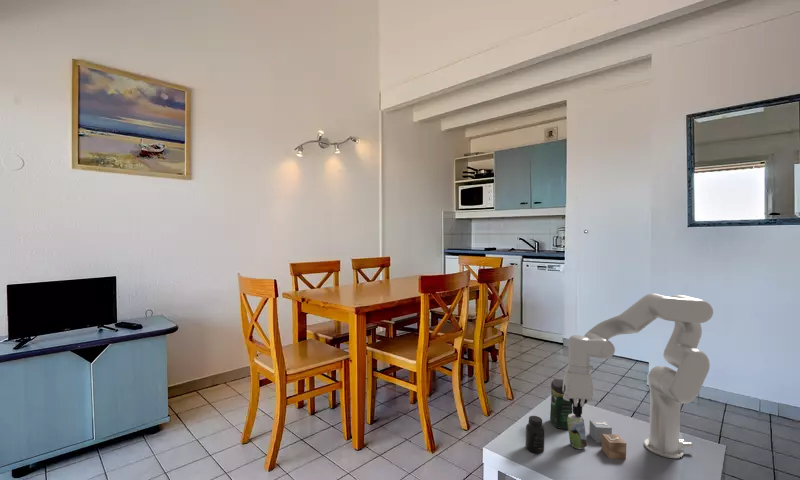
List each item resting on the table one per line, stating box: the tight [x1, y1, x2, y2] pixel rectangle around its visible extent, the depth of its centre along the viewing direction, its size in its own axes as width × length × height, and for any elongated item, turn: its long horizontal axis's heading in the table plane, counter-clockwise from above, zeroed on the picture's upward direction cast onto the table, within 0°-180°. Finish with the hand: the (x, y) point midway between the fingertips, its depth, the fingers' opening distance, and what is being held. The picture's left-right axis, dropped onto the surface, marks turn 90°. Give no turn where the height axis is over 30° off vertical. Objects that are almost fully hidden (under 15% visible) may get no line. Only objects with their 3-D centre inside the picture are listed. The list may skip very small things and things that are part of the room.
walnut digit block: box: [601, 433, 627, 460], centre depth 144 cm, size 6×6×6 cm
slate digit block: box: [588, 419, 613, 443], centre depth 155 cm, size 6×6×6 cm
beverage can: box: [567, 412, 588, 450], centre depth 149 cm, size 6×7×12 cm
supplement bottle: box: [524, 415, 546, 455], centre depth 146 cm, size 7×7×12 cm
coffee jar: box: [549, 378, 573, 430], centre depth 166 cm, size 10×8×19 cm
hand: (577, 415), depth 149 cm, fingers closed
